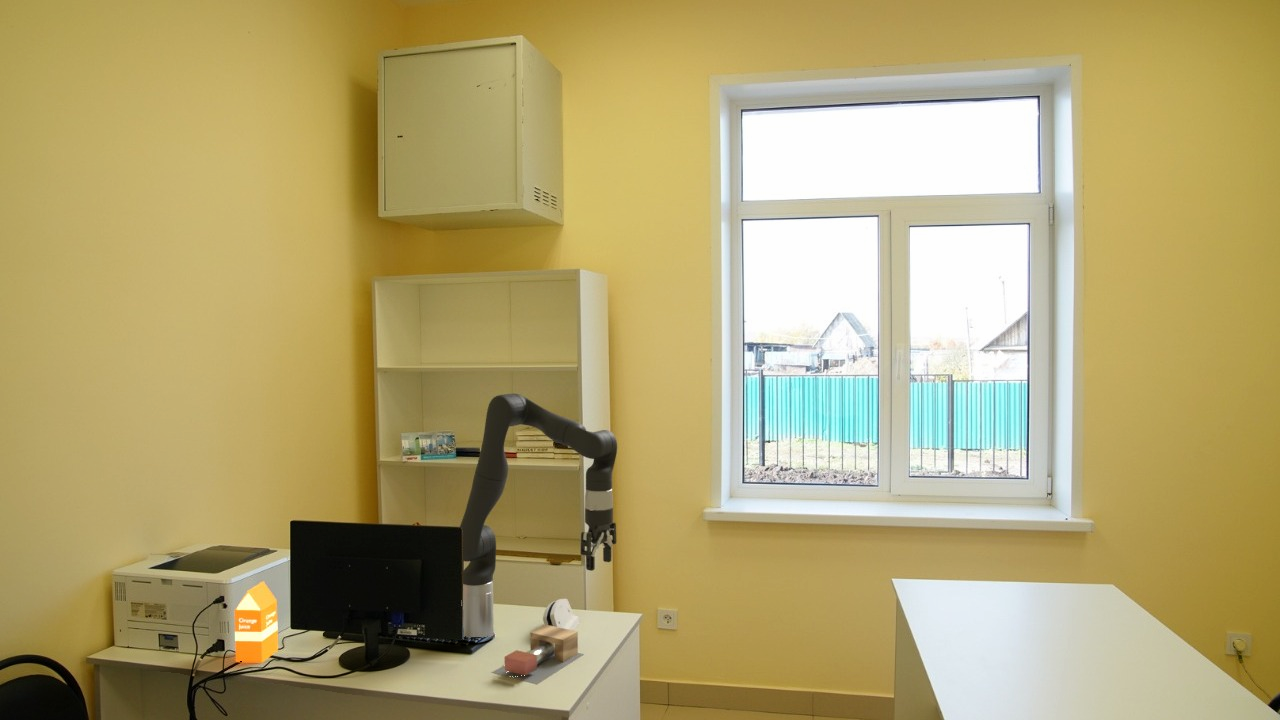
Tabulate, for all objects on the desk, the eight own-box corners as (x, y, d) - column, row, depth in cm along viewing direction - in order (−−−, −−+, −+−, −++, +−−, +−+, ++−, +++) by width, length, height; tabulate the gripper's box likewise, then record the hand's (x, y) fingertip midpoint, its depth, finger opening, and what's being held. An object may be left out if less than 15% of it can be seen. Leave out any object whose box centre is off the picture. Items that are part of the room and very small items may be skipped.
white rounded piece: (565, 642, 238) (553, 609, 238) (550, 646, 239) (539, 614, 239) (580, 621, 254) (569, 591, 255) (566, 625, 255) (555, 595, 256)
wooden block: (530, 654, 228) (530, 632, 228) (545, 646, 234) (545, 624, 234) (563, 662, 223) (563, 639, 223) (577, 653, 229) (577, 631, 229)
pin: (525, 679, 212) (525, 661, 212) (504, 673, 215) (504, 656, 215) (558, 658, 225) (558, 642, 225) (539, 653, 228) (538, 637, 228)
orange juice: (235, 662, 225) (233, 590, 224) (252, 649, 234) (250, 580, 233) (262, 662, 225) (260, 591, 224) (278, 650, 233) (277, 581, 233)
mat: (491, 673, 217) (491, 672, 217) (541, 644, 236) (541, 644, 236) (537, 685, 209) (537, 684, 209) (584, 654, 228) (584, 654, 228)
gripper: (601, 499, 225) (601, 557, 226) (572, 509, 212) (572, 570, 213) (624, 502, 221) (624, 561, 222) (596, 512, 209) (596, 575, 209)
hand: (598, 565), depth 218 cm, fingers open, 8 cm apart
